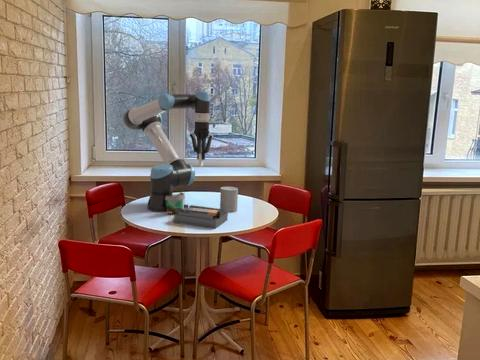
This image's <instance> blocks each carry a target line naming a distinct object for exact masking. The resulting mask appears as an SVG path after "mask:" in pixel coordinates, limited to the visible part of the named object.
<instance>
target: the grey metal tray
mask: <svg viewBox="0 0 480 360" xmlns="http://www.w3.org/2000/svg"><path fill="white" fill-rule="evenodd" d="M185 207H191V208H200V209H210V210H219V211H217V215H216V216H214V215H208V214H200V213H193V212H185V211H182V208H178V213H176V214H174V215H173V223H175V224H180V225H181V224H182V225H187V226H188V225H189V226H194V227H203V228H208V229H209V228H210V229H214V230H216V229H217V228H219V227H220V226H222V225H223V224H224V223H226V222H227V221H228V218H229V217H228V216H229V215H228V214H229V213H228V212H224V209H220V208H215V207H208V206H201V205H193V204H192V205H189V204H183V208H185Z"/></svg>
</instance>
